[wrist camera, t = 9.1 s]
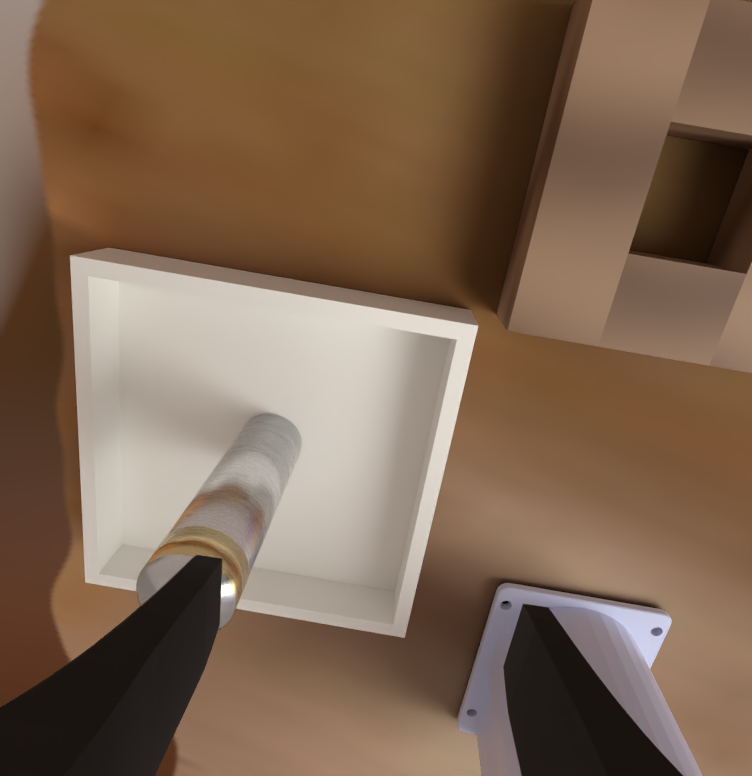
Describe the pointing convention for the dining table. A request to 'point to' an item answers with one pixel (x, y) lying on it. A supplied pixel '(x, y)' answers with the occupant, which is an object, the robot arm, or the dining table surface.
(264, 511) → the steel pin
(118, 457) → the tray
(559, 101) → the square hole board
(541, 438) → the dining table surface
